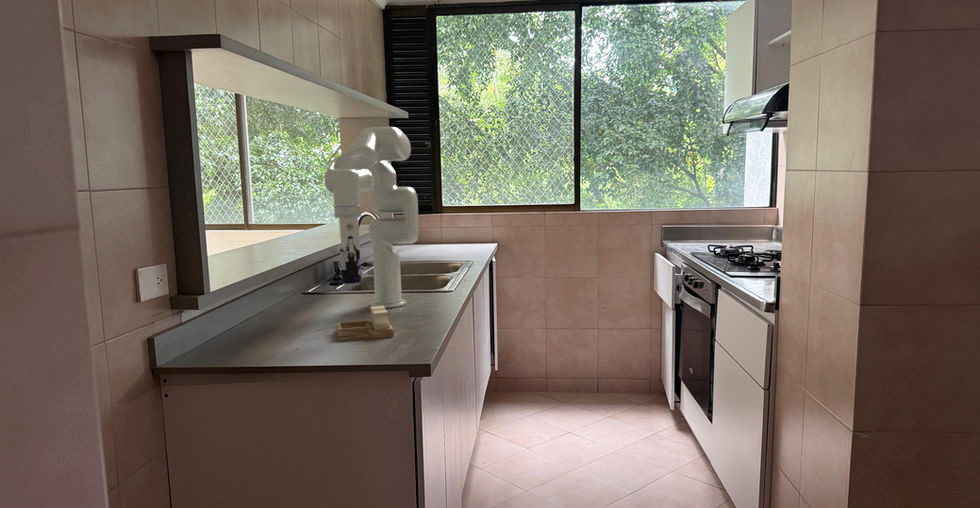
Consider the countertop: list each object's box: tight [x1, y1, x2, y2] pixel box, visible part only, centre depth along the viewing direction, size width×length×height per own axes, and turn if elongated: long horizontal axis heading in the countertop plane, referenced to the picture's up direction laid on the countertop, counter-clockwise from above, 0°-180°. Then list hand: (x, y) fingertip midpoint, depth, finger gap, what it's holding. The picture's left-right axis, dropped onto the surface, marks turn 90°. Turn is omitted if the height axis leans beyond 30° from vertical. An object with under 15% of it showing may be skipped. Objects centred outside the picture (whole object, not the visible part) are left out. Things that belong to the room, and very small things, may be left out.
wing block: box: [370, 306, 389, 330], centre depth 195 cm, size 10×4×6 cm, turn 16°
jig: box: [336, 319, 395, 343], centre depth 194 cm, size 14×16×3 cm
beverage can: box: [339, 244, 362, 287], centre depth 191 cm, size 6×6×12 cm
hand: (351, 272), depth 191 cm, fingers closed on beverage can, 5 cm apart
